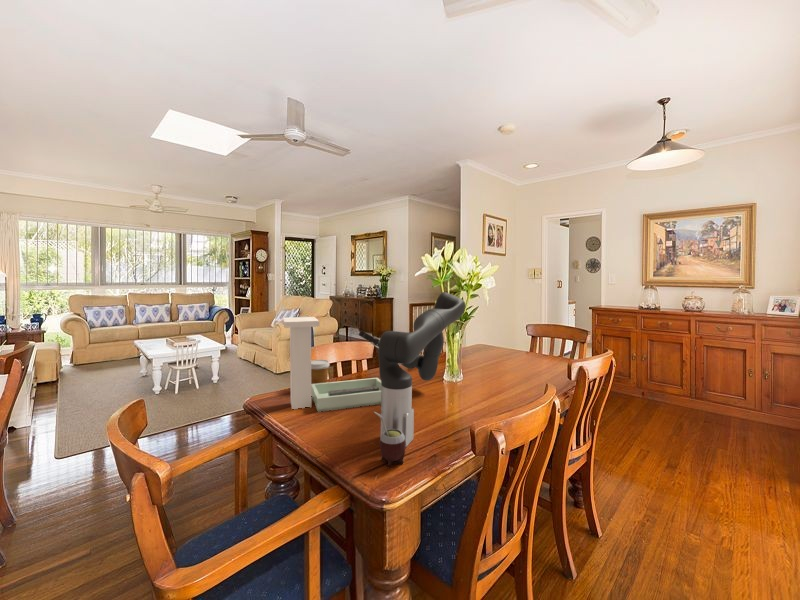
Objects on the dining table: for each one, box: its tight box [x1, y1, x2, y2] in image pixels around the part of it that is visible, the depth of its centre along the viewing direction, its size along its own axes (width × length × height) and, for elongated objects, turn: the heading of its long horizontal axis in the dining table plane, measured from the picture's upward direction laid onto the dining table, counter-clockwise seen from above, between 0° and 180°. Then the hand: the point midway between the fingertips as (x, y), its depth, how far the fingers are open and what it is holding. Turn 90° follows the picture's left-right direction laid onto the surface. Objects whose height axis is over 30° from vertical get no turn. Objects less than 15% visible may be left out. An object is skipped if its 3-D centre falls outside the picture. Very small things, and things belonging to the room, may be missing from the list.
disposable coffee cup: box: [311, 359, 331, 384], centre depth 153 cm, size 10×10×12 cm
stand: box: [282, 316, 320, 410], centre depth 133 cm, size 12×13×33 cm
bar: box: [328, 386, 379, 396], centre depth 141 cm, size 20×3×3 cm, turn 111°
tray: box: [311, 377, 381, 413], centre depth 141 cm, size 28×18×5 cm, turn 111°
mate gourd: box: [373, 411, 407, 469], centre depth 93 cm, size 8×8×15 cm
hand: (362, 334), depth 141 cm, fingers open, 6 cm apart
